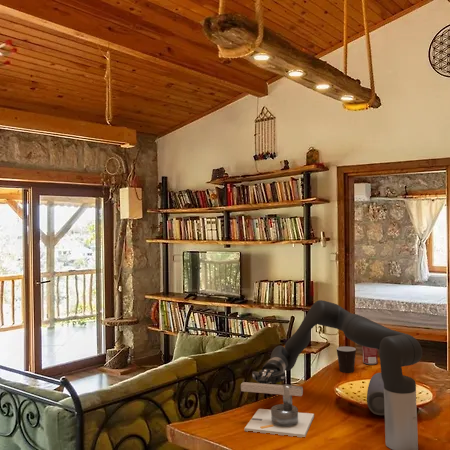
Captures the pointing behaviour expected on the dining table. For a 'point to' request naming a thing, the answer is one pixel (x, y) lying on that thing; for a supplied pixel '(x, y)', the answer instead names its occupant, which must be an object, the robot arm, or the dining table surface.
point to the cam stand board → (264, 425)
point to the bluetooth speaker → (376, 395)
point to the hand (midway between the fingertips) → (262, 383)
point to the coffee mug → (346, 359)
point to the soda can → (370, 355)
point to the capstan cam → (282, 412)
